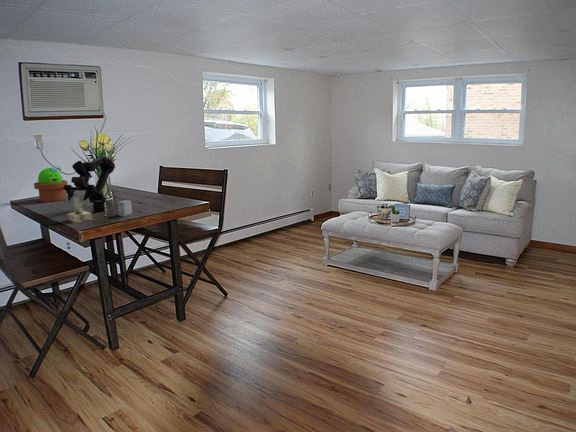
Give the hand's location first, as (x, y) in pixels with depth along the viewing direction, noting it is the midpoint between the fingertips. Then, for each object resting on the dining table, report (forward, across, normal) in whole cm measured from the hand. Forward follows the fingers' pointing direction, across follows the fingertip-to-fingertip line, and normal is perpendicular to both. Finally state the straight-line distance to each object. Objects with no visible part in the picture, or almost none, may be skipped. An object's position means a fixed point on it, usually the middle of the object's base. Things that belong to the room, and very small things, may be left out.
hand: (76, 200), depth 260 cm
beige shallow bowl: (+8, 0, +10) cm, 12 cm away
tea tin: (+5, 0, +7) cm, 8 cm away
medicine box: (-1, +23, +19) cm, 30 cm away
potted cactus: (-38, -57, +56) cm, 88 cm away
